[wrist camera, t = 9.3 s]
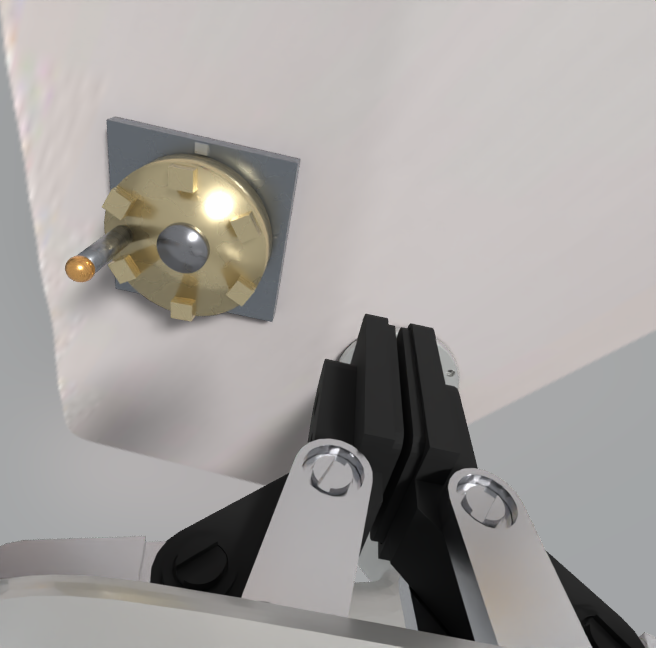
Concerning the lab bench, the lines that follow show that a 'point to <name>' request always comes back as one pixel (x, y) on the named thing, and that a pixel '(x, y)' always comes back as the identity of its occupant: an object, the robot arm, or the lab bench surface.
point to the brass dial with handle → (183, 236)
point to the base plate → (252, 164)
